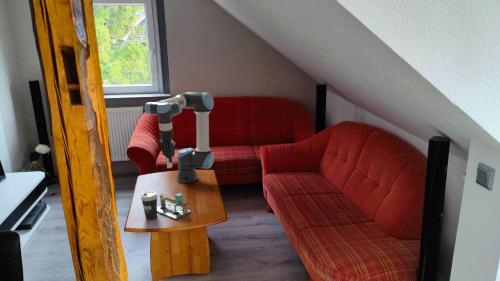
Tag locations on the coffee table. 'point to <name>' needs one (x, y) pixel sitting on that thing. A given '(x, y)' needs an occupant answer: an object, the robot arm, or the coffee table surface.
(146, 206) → the coffee cup
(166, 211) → the bolt plate
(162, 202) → the wooden rail
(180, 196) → the slider block
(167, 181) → the coffee table surface
